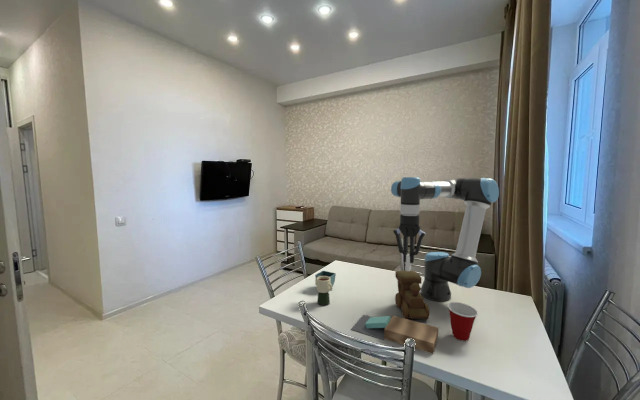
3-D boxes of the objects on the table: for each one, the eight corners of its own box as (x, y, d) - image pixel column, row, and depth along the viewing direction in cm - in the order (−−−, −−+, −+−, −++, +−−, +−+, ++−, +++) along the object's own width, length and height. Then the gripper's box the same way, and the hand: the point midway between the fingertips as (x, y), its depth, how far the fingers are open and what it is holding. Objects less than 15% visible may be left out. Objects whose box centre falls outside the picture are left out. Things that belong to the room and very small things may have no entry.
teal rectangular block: (391, 320, 113) (389, 316, 114) (386, 327, 108) (385, 322, 109) (371, 321, 118) (370, 317, 118) (366, 328, 113) (365, 323, 113)
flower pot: (336, 288, 155) (336, 273, 154) (328, 293, 147) (328, 278, 146) (323, 285, 159) (323, 270, 159) (314, 290, 152) (314, 274, 151)
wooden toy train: (393, 302, 137) (393, 270, 136) (415, 302, 137) (416, 270, 136) (405, 323, 117) (406, 286, 116) (431, 323, 117) (432, 286, 116)
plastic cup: (475, 349, 100) (477, 317, 99) (443, 339, 106) (444, 309, 105) (478, 334, 109) (479, 306, 108) (448, 326, 115) (449, 299, 114)
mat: (393, 323, 117) (393, 322, 117) (383, 340, 105) (383, 339, 105) (363, 315, 125) (363, 314, 125) (350, 329, 113) (350, 329, 113)
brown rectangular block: (438, 337, 107) (438, 327, 107) (433, 354, 97) (433, 343, 97) (393, 324, 116) (393, 315, 116) (384, 338, 106) (384, 329, 106)
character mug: (336, 304, 135) (336, 279, 134) (327, 309, 130) (327, 283, 129) (320, 297, 143) (320, 273, 142) (310, 302, 137) (310, 277, 136)
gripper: (428, 214, 111) (426, 270, 113) (396, 212, 118) (395, 265, 120) (424, 216, 105) (423, 275, 107) (391, 214, 112) (390, 270, 114)
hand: (408, 270), depth 114 cm, fingers closed
